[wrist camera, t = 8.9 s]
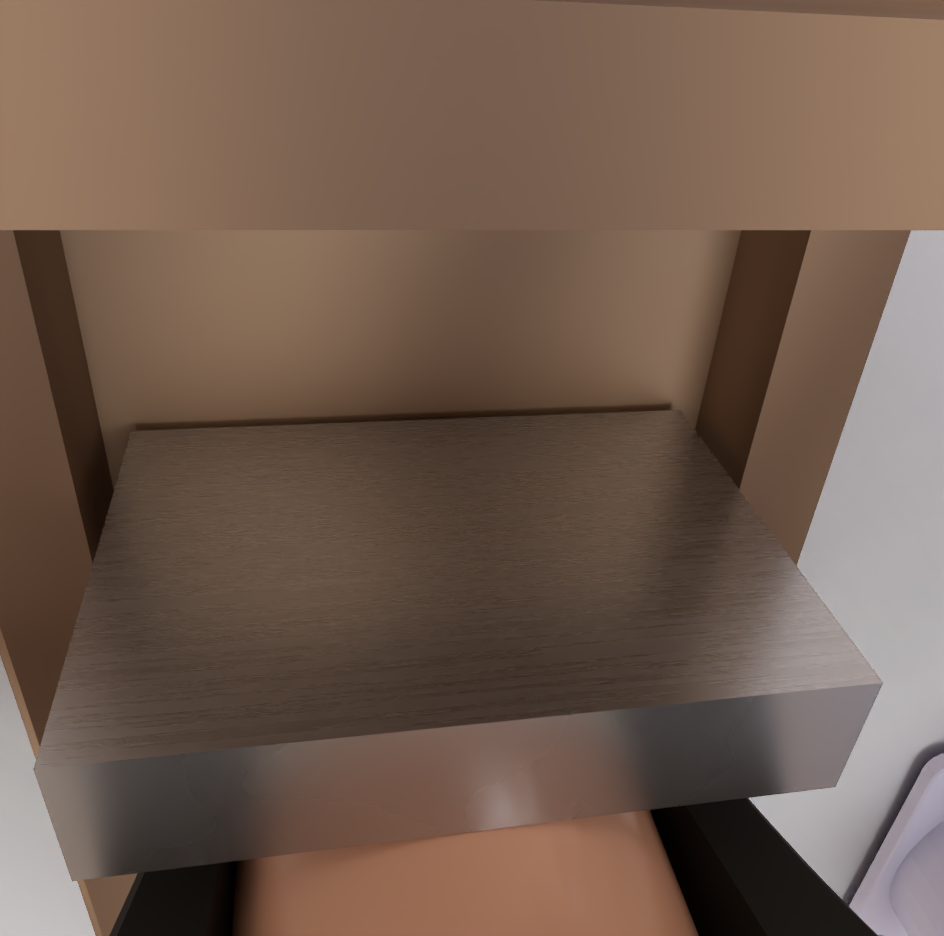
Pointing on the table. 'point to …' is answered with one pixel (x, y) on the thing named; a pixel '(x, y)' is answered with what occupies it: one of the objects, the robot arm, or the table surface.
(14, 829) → the table surface
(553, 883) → the jar
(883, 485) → the table surface
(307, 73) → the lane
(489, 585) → the plate
